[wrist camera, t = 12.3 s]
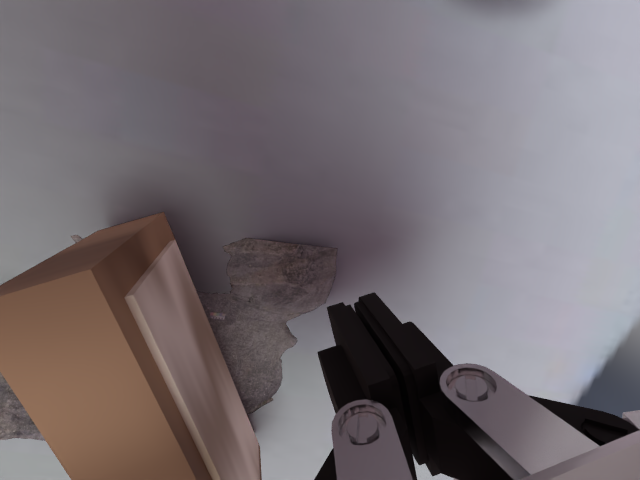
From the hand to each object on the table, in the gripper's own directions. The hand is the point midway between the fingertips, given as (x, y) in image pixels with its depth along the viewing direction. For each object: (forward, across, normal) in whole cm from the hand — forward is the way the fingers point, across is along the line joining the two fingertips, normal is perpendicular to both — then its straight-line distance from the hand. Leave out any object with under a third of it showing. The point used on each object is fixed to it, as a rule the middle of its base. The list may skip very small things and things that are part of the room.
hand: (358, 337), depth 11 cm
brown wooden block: (+4, +6, +1) cm, 8 cm away
